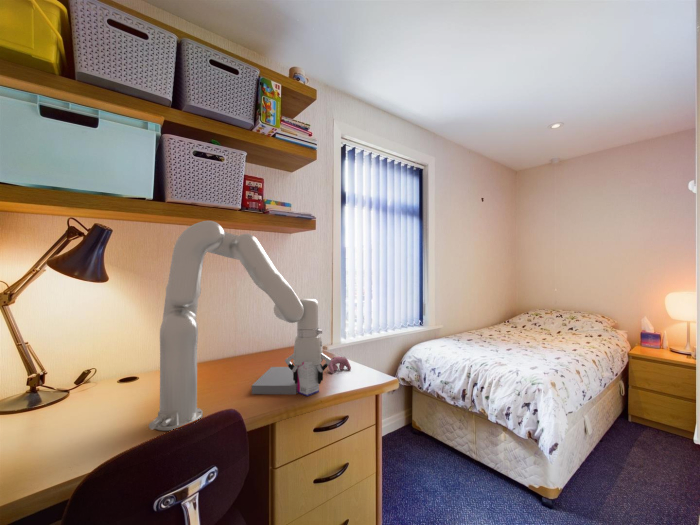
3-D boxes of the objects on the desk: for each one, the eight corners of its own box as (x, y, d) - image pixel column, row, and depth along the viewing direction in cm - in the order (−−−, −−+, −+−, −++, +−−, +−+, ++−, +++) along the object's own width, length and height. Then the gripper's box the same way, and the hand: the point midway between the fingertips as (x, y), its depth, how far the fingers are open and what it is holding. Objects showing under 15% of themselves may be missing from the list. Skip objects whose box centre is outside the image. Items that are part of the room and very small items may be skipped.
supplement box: (319, 391, 109) (319, 359, 109) (307, 396, 104) (307, 363, 105) (309, 388, 113) (308, 356, 113) (296, 392, 108) (296, 360, 109)
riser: (296, 394, 107) (296, 385, 107) (251, 394, 108) (251, 385, 108) (308, 374, 129) (308, 366, 129) (271, 374, 130) (271, 366, 130)
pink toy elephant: (348, 371, 136) (345, 356, 139) (352, 369, 132) (349, 353, 135) (327, 375, 131) (325, 359, 135) (331, 373, 128) (328, 356, 131)
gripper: (332, 331, 113) (333, 379, 112) (286, 331, 114) (287, 378, 113) (330, 335, 105) (331, 386, 104) (281, 335, 106) (281, 386, 105)
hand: (308, 382), depth 109 cm, fingers closed on supplement box, 7 cm apart
